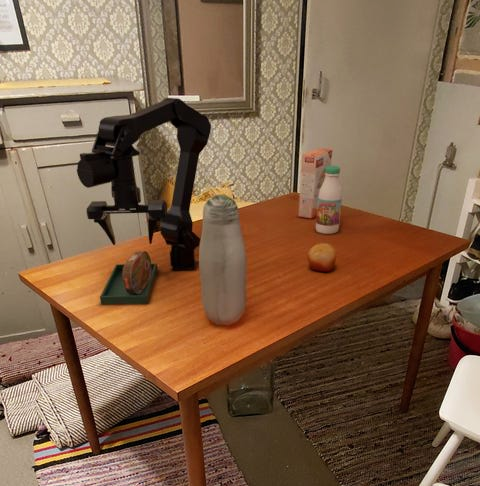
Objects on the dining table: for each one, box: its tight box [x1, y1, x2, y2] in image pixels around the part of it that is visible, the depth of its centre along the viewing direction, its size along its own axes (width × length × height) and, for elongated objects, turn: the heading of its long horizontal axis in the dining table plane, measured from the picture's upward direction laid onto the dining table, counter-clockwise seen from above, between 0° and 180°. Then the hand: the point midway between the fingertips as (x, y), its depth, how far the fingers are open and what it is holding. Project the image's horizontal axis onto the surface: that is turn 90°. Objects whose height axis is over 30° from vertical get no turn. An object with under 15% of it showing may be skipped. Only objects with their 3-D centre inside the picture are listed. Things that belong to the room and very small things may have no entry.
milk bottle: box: [315, 165, 343, 235], centre depth 160 cm, size 8×8×20 cm
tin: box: [122, 250, 152, 295], centre depth 127 cm, size 15×3×8 cm, turn 170°
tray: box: [99, 263, 159, 306], centre depth 131 cm, size 12×21×2 cm, turn 1°
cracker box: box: [297, 147, 333, 220], centre depth 176 cm, size 14×6×21 cm, turn 149°
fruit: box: [306, 242, 337, 272], centre depth 138 cm, size 8×8×8 cm
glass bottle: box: [198, 194, 247, 326], centre depth 107 cm, size 10×10×28 cm
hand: (132, 244), depth 124 cm, fingers open, 9 cm apart
